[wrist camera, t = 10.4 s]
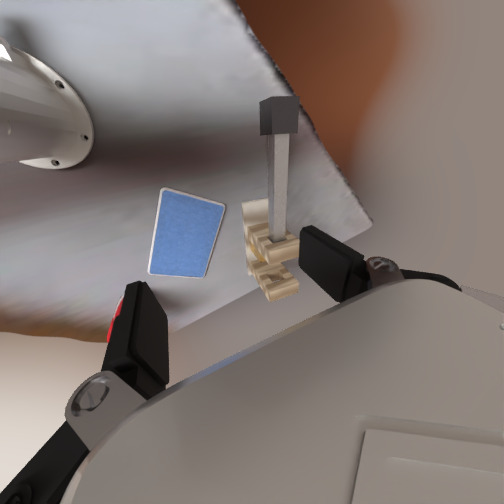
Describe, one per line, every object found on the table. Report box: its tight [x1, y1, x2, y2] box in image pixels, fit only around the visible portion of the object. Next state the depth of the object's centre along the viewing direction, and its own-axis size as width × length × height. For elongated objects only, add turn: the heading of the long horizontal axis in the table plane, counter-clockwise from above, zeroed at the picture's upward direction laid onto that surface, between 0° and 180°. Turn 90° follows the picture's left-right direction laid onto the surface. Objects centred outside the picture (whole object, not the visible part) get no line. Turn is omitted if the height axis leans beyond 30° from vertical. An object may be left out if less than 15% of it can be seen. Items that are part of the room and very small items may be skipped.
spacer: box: [250, 241, 266, 263], centre depth 43 cm, size 3×6×6 cm, turn 94°
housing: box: [241, 198, 300, 302], centre depth 41 cm, size 20×8×13 cm, turn 4°
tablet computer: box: [148, 187, 225, 278], centre depth 39 cm, size 19×13×1 cm, turn 159°
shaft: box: [259, 96, 299, 244], centre depth 31 cm, size 24×4×4 cm, turn 4°
